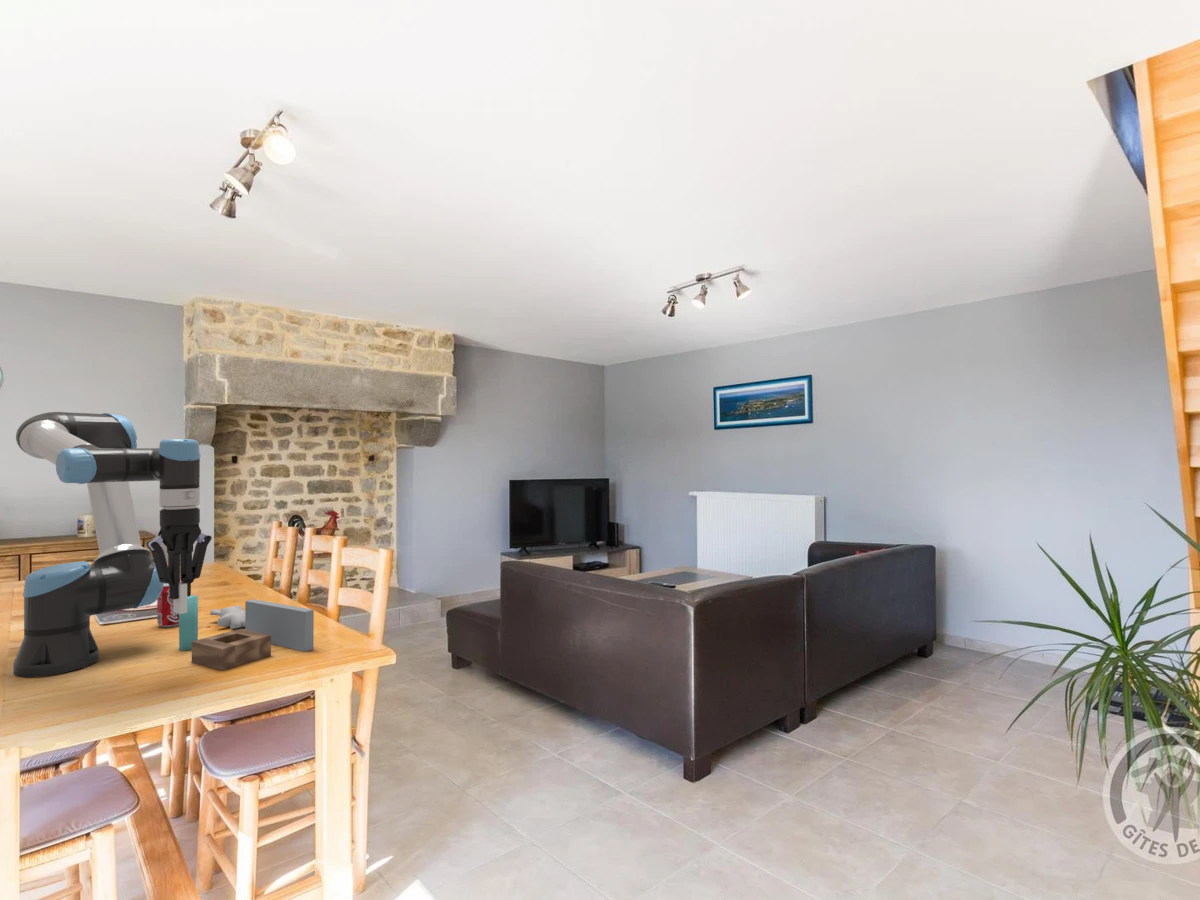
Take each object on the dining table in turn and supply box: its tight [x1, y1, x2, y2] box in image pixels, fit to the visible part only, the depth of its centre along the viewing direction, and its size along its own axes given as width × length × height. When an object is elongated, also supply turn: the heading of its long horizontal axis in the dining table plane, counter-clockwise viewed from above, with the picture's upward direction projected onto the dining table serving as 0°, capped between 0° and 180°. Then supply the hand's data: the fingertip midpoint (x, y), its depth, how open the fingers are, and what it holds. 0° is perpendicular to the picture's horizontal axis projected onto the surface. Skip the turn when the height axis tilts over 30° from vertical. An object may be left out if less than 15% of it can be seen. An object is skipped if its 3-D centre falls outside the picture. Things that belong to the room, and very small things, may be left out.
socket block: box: [191, 628, 272, 671], centre depth 151 cm, size 12×12×5 cm
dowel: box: [178, 594, 199, 651], centre depth 160 cm, size 4×4×13 cm
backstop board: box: [244, 599, 315, 653], centre depth 163 cm, size 2×24×10 cm, turn 62°
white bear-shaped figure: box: [209, 604, 245, 631], centre depth 181 cm, size 10×5×15 cm
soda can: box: [156, 581, 182, 628], centre depth 180 cm, size 7×7×12 cm
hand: (180, 612), depth 140 cm, fingers closed
